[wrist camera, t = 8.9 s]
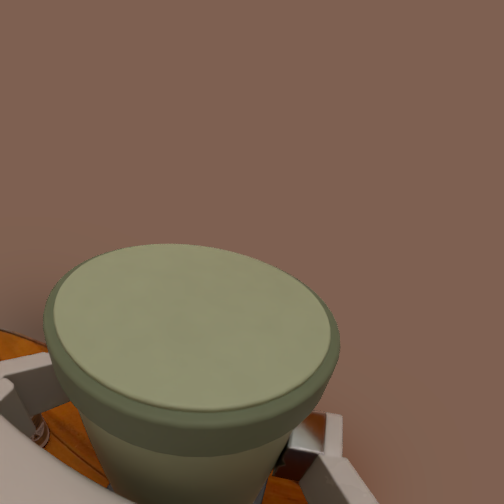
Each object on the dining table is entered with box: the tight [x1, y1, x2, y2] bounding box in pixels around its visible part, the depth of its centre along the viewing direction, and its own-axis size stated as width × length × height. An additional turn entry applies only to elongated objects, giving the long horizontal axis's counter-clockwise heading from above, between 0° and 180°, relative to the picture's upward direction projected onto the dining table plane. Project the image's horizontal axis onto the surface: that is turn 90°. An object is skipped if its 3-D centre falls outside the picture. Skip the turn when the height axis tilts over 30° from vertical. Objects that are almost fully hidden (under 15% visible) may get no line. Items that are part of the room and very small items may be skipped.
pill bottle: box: [30, 413, 49, 447], centre depth 18 cm, size 4×4×8 cm
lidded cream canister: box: [43, 244, 340, 504], centre depth 8 cm, size 6×6×9 cm
